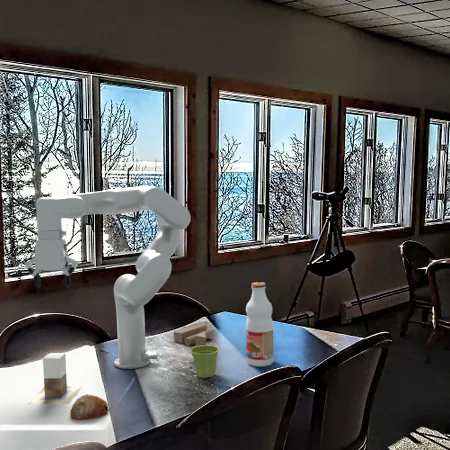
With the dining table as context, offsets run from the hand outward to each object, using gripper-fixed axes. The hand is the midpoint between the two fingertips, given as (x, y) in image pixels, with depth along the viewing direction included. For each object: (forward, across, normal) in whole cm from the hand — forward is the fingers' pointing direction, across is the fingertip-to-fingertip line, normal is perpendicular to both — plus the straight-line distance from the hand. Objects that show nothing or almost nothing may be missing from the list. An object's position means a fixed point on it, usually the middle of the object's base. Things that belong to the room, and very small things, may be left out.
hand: (52, 287), depth 189 cm
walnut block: (+29, -6, +18) cm, 35 cm away
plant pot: (+31, -49, -2) cm, 58 cm away
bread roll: (+31, -20, +31) cm, 48 cm away
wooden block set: (+31, -44, -42) cm, 68 cm away
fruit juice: (+31, -67, -14) cm, 75 cm away
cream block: (+23, -6, +18) cm, 30 cm away
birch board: (+30, -6, +18) cm, 36 cm away
